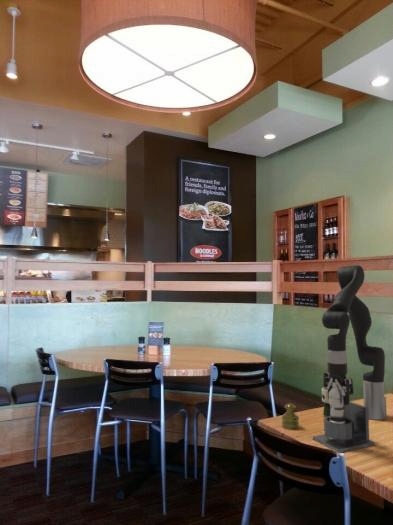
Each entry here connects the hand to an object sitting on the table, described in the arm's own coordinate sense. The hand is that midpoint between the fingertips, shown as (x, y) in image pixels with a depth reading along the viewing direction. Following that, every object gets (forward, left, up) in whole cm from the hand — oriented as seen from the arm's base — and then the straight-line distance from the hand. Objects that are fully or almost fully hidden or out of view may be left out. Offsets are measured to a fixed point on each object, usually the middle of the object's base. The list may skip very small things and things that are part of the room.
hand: (338, 402), depth 166 cm
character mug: (-20, -28, -16) cm, 38 cm away
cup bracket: (-2, 0, -16) cm, 16 cm away
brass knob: (+6, -24, -16) cm, 30 cm away
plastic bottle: (0, -1, -12) cm, 12 cm away
